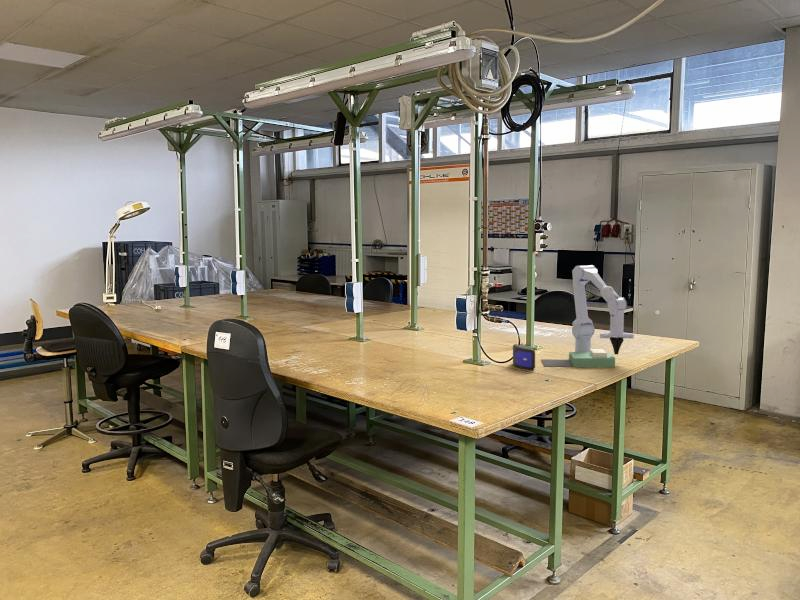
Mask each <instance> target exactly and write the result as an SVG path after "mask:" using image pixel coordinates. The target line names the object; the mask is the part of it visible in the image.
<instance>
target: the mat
mask: <svg viewBox="0 0 800 600" xmlns="http://www.w3.org/2000/svg"><path fill="white" fill-rule="evenodd" d="M540 361H541V364H542V366H543V365H544V366H543V367H549V368H551V367H552V368H553V367H555V368H556V367H557V368H559V367H560V368H561V367H562V368H574V367H573V365H572V363H571V362H570V360H569V359H547V358H546V359H540Z"/></svg>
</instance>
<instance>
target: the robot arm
mask: <svg viewBox="0 0 800 600" xmlns="http://www.w3.org/2000/svg"><path fill="white" fill-rule="evenodd" d="M598 272H599V271H598V268H596V266H595V265H593V264H590V265H576V266H574V268H573V269H572V270H571V273H572V288H573V299H574V306H575V307H574V309H575V315H576V318H575V319H574V321H573V322H571V323H572V327H571V333H572V336H573V337H574V352H590V349H592V347H591V346H592V345H591V344H592V338H593V335H594V334H595V331H596V329H595V328H596V327H595V326H594V324H593V320H592V319H591V318H589V313H588V305H587V304H588V303H587V302H588V301H587V293H586V285H587V283H589V282H591V283H592V284H593V285H595V286H596V288H598V290H599V291H600V292H599V294H600V296H601V297H602V298H603V299H604V300H605V302H606V304H607V308H608V311H609V315H610V319H609V321H610V325H609V332H608V333H607V332H606V333H599V338H600V339H609V340H610V344H611V346H612V348H613V354H614V355H619V351H620V349H621V347H622V344H623V343H624V339H630V340H632V339H635V337H634V333H627V332H626V333H624V327H625V326H624V324H625V321H624V318H625V317H624V316H625V310H626V309H627V307H628V302H627V300H626V298H625V297H622V296H619V294H618V293H617V292H616V291H615V290H614V288H613V287H612V286H610V285H607V284H606V283H605V281H604V280H603V279H602V277H601V276H600V274H599V273H598Z"/></svg>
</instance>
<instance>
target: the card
mask: <svg viewBox="0 0 800 600" xmlns="http://www.w3.org/2000/svg"><path fill="white" fill-rule="evenodd" d="M607 352H608V351H606V350H605V349H603V348H591V349H590V354H591V355H592V356H593V357H607Z"/></svg>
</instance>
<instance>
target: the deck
mask: <svg viewBox="0 0 800 600" xmlns="http://www.w3.org/2000/svg"><path fill="white" fill-rule="evenodd" d="M606 352H607V357H593V356H592V355H591V354H590V352H575V351H569V352H568V360H570V362H571V363H572V365H573V367H572V368H616V358H615V357H614V356H613V355H612V354H611V353H610V352H608V351H606Z"/></svg>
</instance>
